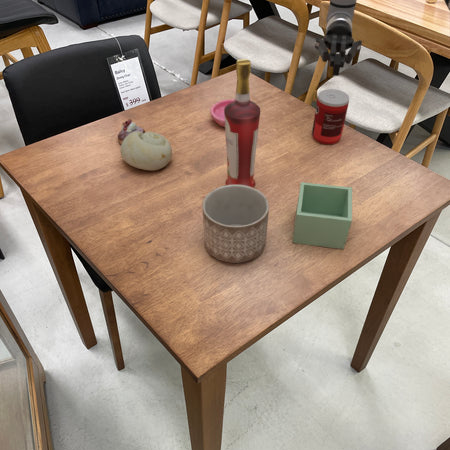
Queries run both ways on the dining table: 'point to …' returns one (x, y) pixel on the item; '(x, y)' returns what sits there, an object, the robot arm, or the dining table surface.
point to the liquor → (241, 130)
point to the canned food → (330, 116)
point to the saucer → (220, 111)
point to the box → (323, 215)
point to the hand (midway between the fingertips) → (336, 70)
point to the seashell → (146, 150)
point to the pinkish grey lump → (128, 130)
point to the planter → (235, 222)
